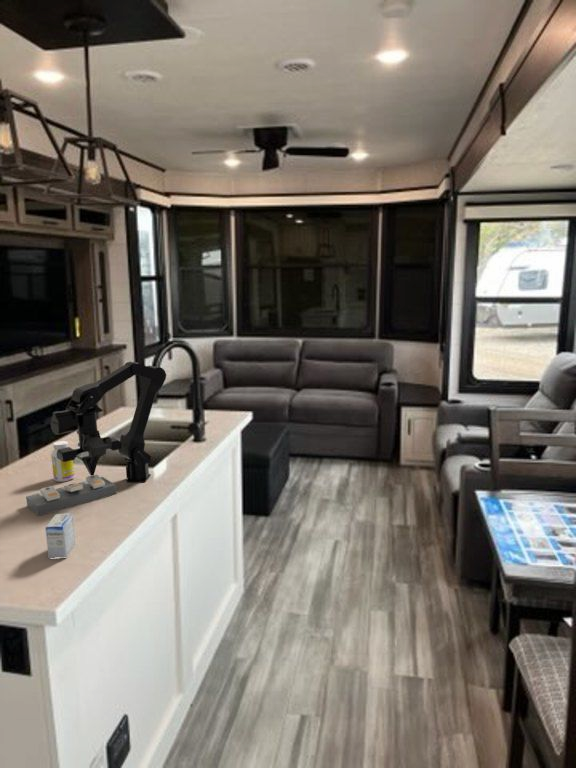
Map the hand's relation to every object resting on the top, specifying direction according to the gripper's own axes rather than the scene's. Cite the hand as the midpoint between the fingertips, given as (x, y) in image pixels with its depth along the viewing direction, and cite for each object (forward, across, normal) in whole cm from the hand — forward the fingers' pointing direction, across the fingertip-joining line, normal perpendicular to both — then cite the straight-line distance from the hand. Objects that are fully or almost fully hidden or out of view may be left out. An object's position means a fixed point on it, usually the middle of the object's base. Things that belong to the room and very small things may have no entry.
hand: (92, 475), depth 181 cm
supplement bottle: (+6, -2, +20) cm, 21 cm away
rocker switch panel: (+6, -7, -1) cm, 9 cm away
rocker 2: (+2, 0, -2) cm, 3 cm away
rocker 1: (+1, -14, -2) cm, 14 cm away
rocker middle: (+1, -7, -2) cm, 8 cm away
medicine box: (+6, -22, -33) cm, 40 cm away
